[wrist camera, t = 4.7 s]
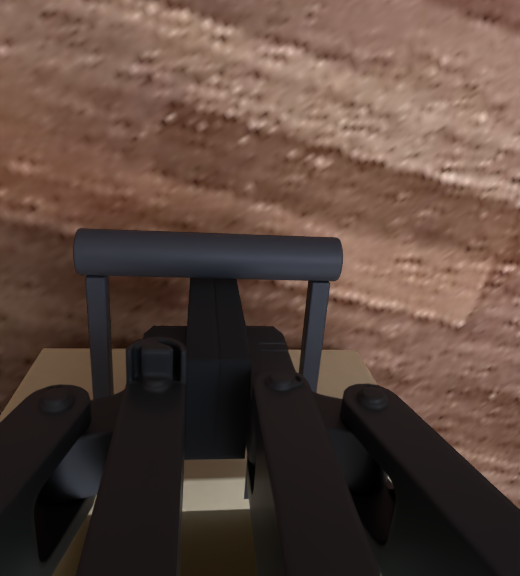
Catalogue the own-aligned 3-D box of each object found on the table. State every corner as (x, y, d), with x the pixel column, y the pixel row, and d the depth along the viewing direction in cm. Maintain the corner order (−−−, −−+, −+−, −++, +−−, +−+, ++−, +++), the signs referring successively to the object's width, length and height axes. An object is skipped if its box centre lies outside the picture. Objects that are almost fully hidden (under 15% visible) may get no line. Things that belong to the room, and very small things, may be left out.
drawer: (27, 197, 18) (-92, 262, 11) (377, 212, 20) (480, 277, 13) (68, 595, 25) (14, 795, 18) (320, 580, 27) (365, 757, 20)
